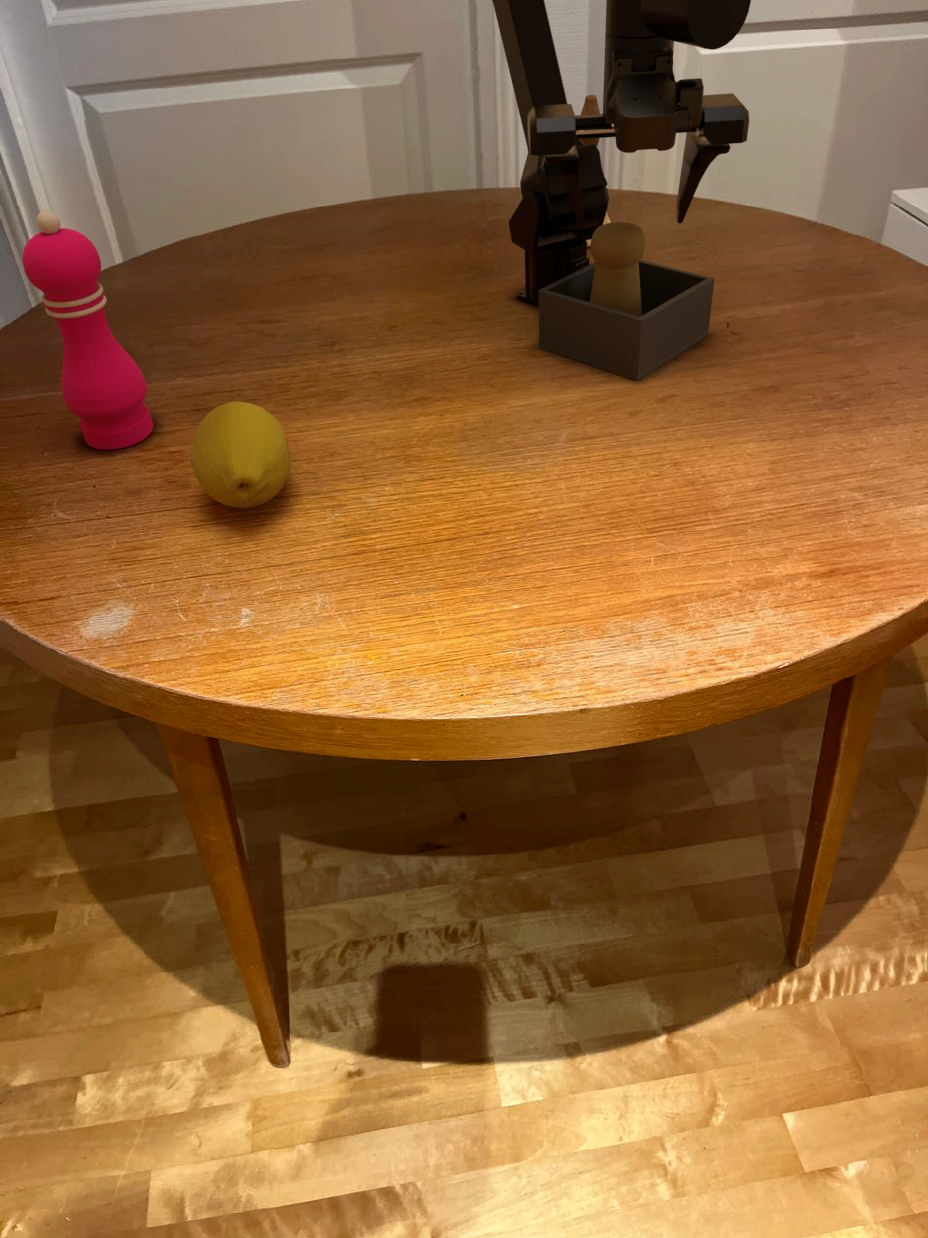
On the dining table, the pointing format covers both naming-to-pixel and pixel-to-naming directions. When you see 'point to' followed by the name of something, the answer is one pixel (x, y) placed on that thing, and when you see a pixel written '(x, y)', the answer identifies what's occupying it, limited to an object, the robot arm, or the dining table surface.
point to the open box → (626, 320)
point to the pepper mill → (87, 338)
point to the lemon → (240, 455)
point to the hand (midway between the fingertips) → (629, 224)
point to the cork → (617, 267)
